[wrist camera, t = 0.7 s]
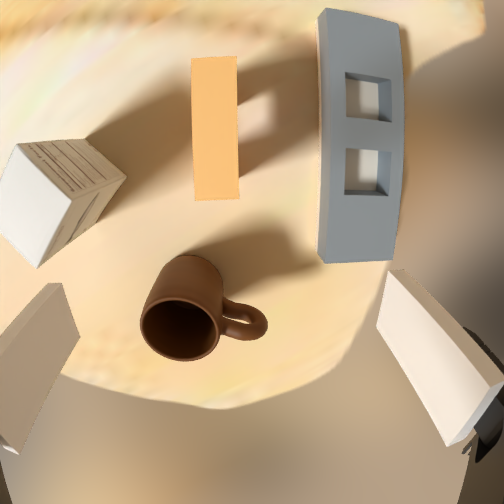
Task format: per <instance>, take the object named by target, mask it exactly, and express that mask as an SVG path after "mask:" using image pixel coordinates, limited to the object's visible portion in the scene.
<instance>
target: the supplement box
mask: <svg viewBox="0 0 504 504" xmlns="http://www.w3.org/2000/svg"><path fill="white" fill-rule="evenodd" d="M126 178H127V176H126V175H125V174H124V173H123V172H121V171H120V170H119V169H118V168H117V167H116V166H115V165H114V164H112V163H111V162H110V161H109V160H108V159H107V158H106V157H104V156H103V155H102V154H101V153H100V152H99V151H98V150H97V149H95V148H94V147H93V146H92V145H91V144H90V143H89V142H88V141H86V140H85V139H68V140H54V141H43V142H32V143H20V144H16V146H15V147H14V149H13V151H12V153H11V155H10V158H9V160H8V162H7V164H6V167H5V169H4V171H3V173H2V176H1V178H0V233H1V234H2V235H3V236H4V237H5V238H6V239H7V240H8V241H9V242H10V244H11V245H12V246H13V247H14V248H15V249H16V250H17V251H18V252H19V253H20V254H21V255H22V256H23V257H24V258H25V259H26V260H27V261H28V262H29V263H30V264H31V265H32V266H34V267H35V268H36V269H38V268H39V267H40V266H41V265H42V264H43V263H45V262H46V261H47V260H48V259H50V258H51V257H52V256H53V255H55V254H56V253H57V252H58V251H60V250H61V249H62V248H64V247H65V246H66V245H68V244H69V243H70V242H72V241H73V240H74V239H76V238H77V237H78V236H80V235H81V234H82V233H84V232H85V231H87V230H88V229H89V228H91V227H92V226H93V225H94V224H95V223H96V221H97V219H98V218H99V216H100V214H101V213H102V211H103V210H104V208H105V206H106V205H107V204H108V202H109V201H110V199H111V198H112V197H113V195H114V194H115V192H116V191H117V190H118V188H119V187H120V186H121V184H122V183H123V182H124V181H125V179H126Z"/></svg>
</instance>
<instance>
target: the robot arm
mask: <svg viewBox="0 0 504 504" xmlns="http://www.w3.org/2000/svg"><path fill="white" fill-rule="evenodd" d="M376 328H377V329H378V331H379V332H380V334H381V335H382V337H383V339H384V340H385V342H386V343H387V345H388V346H389V348H390V350H391V351H392V352H393V354H394V356H395V358H396V359H397V361H398V362H399V364H400V366H401V367H402V369H403V371H404V372H405V374H406V375H407V377H408V379H409V380H410V382H411V384H412V385H413V387H414V389H415V391H416V392H417V394H418V395H419V397H420V399H421V401H422V403H423V404H424V406H425V408H426V409H427V411H428V413H429V415H430V416H431V418H432V420H433V422H434V424H435V425H436V427H437V429H438V431H439V433H440V434H441V436H442V438H443V440H444V442H445V444H446V446H447V447H448V446H450V445H452V444H455V443H457V442H459V441H461V440H463V439H464V438H465V437H466V436H467V435H468V434H469V432H470V431H471V430H472V429H473V427H474V429H475V430H476V432H477V434H476V435H475V436H474V437H473V439H472V440H471V441H470V442H469V443H468V444H467V445H466V446H465V448H464V449H463V452H462V454H465V453H466V451H467V450H468V449H469V448H470V447H471V446H472V447H471V451H470V452H469V454H468V455H470V457H469V461H468V466H467V471H466V475H465V479H464V482H463V486H462V490H461V493H460V496H459V500H458V503H457V504H504V365H503V364H502V363H501V362H500V360H499V359H498V358H497V357H496V356H495V355H494V353H493V352H490V349H489V348H488V347H487V346H486V345H484V343H483V341H482V340H481V339H480V338H479V337H478V336H477V335H476V334H475V333H473V332H472V331H470V330H469V329H467V328H465V327H461V326H460V325H459V324H458V323H457V321H456V320H455V319H454V318H453V317H452V316H451V315H450V314H449V313H448V312H447V311H446V310H445V309H444V308H443V307H442V306H441V305H440V304H439V303H438V302H437V301H436V300H435V299H434V298H433V297H432V296H431V295H430V294H429V293H428V292H427V291H426V290H425V289H424V288H423V287H422V286H421V285H420V284H419V283H418V282H417V281H415V279H413V278H412V277H411V276H410V275H409V274H408V273H407V272H406V271H405V270H404V269H402V270H389V271H388V275H387V280H386V285H385V290H384V294H383V300H382V304H381V308H380V313H379V317H378V321H377V325H376ZM79 338H80V335H79V332H78V330H77V327H76V324H75V322H74V319H73V316H72V313H71V310H70V307H69V304H68V301H67V298H66V295H65V292H64V289H63V285H62V283H48V284H47V285H46V286H45V287H44V288H43V289H42V290H41V291H40V292H39V293H38V294H37V295H36V296H35V297H34V298H33V299H32V300H31V301H30V303H29V304H28V305H27V306H26V307H25V308H24V309H23V310H22V311H21V312H20V314H19V315H18V316H17V317H16V318H15V319H14V320H13V322H12V323H11V324H10V325H9V326H8V327H7V329H6V330H5V331H4V332H3V333H2V334H1V336H0V444H1V445H2V446H3V447H4V448H5V449H7V450H9V451H12V452H14V453H16V454H18V455H20V454H21V451H22V449H23V447H24V444H25V442H26V440H27V438H28V435H29V433H30V431H31V429H32V426H33V424H34V422H35V420H36V418H37V416H38V414H39V412H40V410H41V408H42V406H43V404H44V402H45V400H46V398H47V396H48V394H49V392H50V390H51V388H52V386H53V384H54V383H55V380H56V379H57V377H58V375H59V373H60V371H61V370H62V368H63V366H64V364H65V362H66V361H67V359H68V357H69V355H70V354H71V352H72V350H73V349H74V347H75V345H76V343H77V342H78V340H79ZM0 504H12V501H11V498H10V495H9V492H8V488H7V485H6V482H5V478H4V475H3V471H2V466H1V462H0Z"/></svg>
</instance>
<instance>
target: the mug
mask: <svg viewBox="0 0 504 504" xmlns="http://www.w3.org/2000/svg"><path fill="white" fill-rule="evenodd" d="M222 315H223V316H225V317H227V318H225V317H223V316H222ZM228 318H231V319H239V320H244V321H247V322H248V323H250V324H244V323H241V322H237V321H234V320H231V319H228ZM140 329H141V333H142V335H143V338H144V340H145V341H146V343H147V344H148V345H149V346H150V347H151V348H152V349H153V350H154V351H155V352H157V353H158V354H160V355H162V356H164V357H166V358H168V359H172V360H176V361H194V360H198V359H201V358H203V357H205V356H207V355H208V354H210V353H211V352H212V351H213V350H214V348H215V347H216V346H217V344H218V342H219V339H220V335H221V334H222V335H226V336H228V337H231V338H235V339H238V340H243V341H248V340H256V339H259V338H260V337H262V336H263V335H264V334H265V332H266V331H267V329H268V321H267V319H266V317H265V316H264V314H263V313H262V312H261V311H259V310H258V309H256V308H254V307H252V306H250V305H246V304H241V303H235V302H233V301H230V300H228V299H226V298H224V297H223V282H222V278H221V276H220V274H219V272H218V270H217V269H216V268H215V267H214V266H213V265H212V264H211V263H210V262H208V261H207V260H205V259H203V258H200V257H197V256H189V255H187V256H180V257H177V258H175V259H173V260H171V261H170V262H168V263H167V264H166V265H165V266H164V267H163V269H162V270H161V272H160V274H159V275H158V278H157V280H156V281H155V283H154V285H153V287H152V289H151V291H150V294H149V296H148V298H147V300H146V302H145V305H144V308H143V311H142V315H141V318H140Z"/></svg>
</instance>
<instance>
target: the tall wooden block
mask: <svg viewBox="0 0 504 504" xmlns="http://www.w3.org/2000/svg"><path fill="white" fill-rule="evenodd" d="M191 106H192V144H193V169H194V188H195V201H204V200H228V199H239V173H238V125H237V56H227V57H207V58H193V59H191Z"/></svg>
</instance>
